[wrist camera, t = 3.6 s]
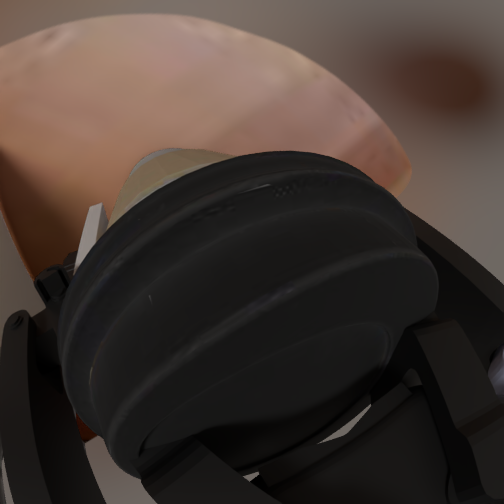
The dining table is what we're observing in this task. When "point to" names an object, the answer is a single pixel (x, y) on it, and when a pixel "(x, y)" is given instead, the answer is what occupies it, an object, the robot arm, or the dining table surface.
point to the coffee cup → (239, 304)
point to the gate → (14, 281)
